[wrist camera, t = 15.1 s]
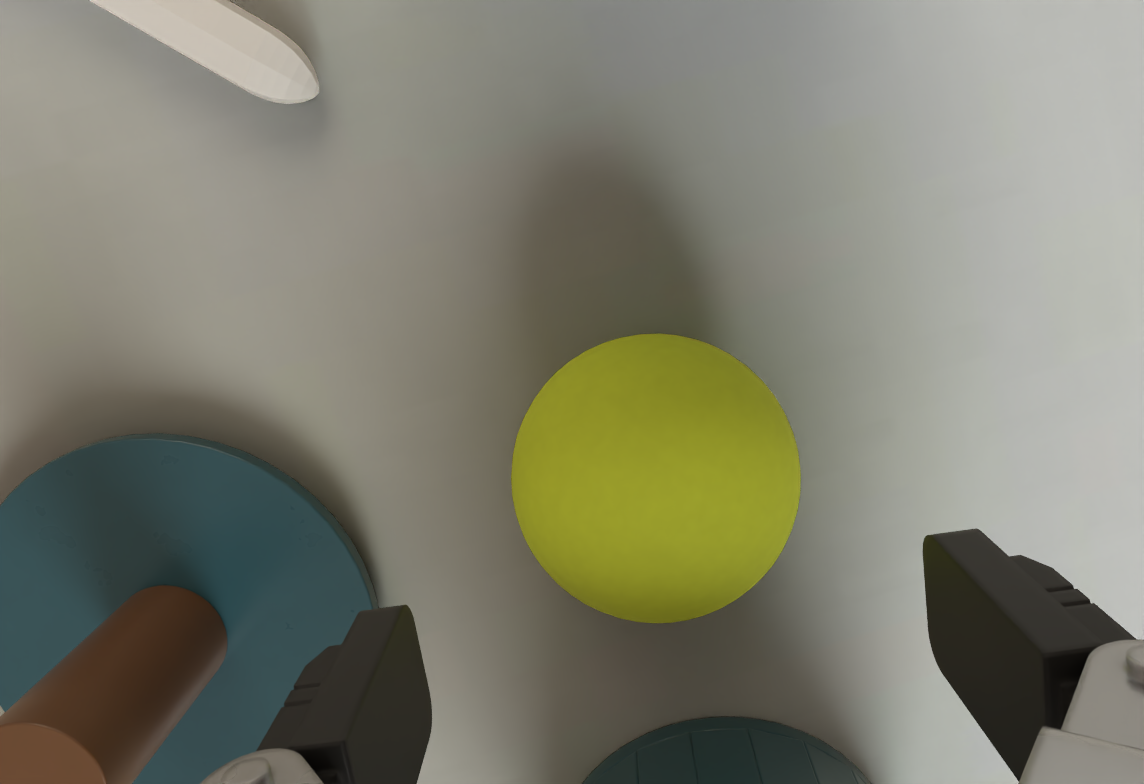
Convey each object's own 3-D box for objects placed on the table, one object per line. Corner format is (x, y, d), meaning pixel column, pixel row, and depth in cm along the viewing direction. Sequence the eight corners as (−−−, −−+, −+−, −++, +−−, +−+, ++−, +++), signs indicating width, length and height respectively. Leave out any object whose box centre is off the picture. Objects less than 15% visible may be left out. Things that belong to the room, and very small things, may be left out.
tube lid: (87, 348, 23) (-130, 426, 16) (459, 557, 24) (403, 713, 17) (-65, 671, 25) (-310, 858, 19) (278, 847, 27) (167, 1084, 20)
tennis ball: (605, 264, 22) (609, 302, 16) (819, 395, 23) (902, 480, 17) (478, 472, 24) (436, 582, 17) (683, 590, 24) (712, 735, 18)
